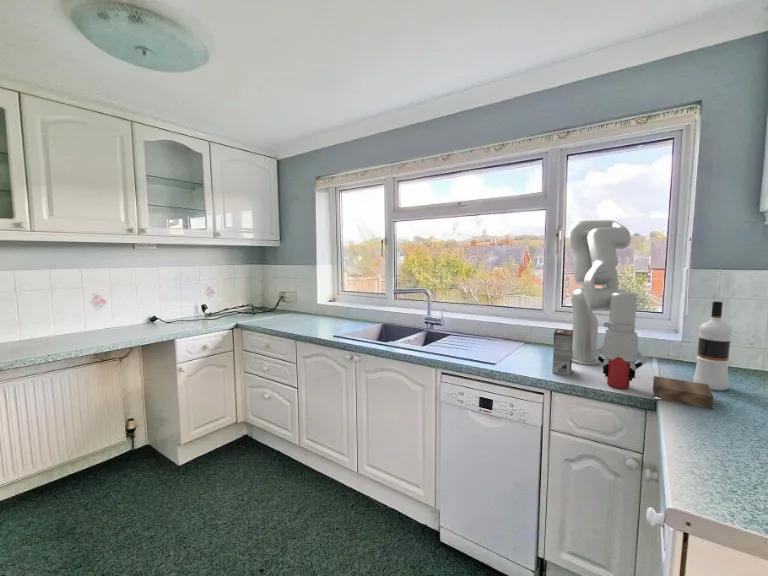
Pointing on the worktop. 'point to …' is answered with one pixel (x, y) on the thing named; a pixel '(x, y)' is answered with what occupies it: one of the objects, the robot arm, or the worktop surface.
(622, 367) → the beer can
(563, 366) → the coffee box
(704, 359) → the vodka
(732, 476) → the worktop surface
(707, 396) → the walnut base
